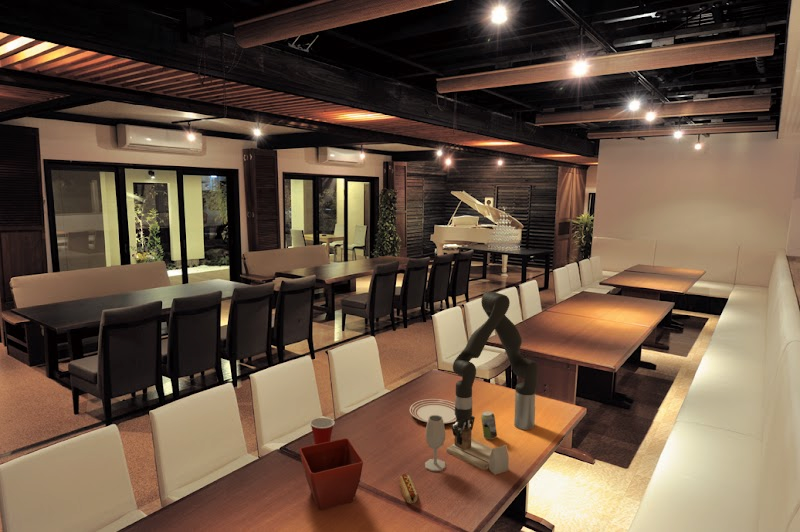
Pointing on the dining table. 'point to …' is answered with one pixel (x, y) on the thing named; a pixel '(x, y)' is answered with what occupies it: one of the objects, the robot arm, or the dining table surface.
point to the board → (473, 454)
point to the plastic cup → (322, 429)
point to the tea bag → (499, 460)
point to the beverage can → (489, 425)
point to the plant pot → (332, 472)
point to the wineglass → (435, 441)
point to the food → (408, 489)
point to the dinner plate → (434, 409)
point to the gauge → (464, 439)
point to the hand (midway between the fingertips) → (462, 442)
